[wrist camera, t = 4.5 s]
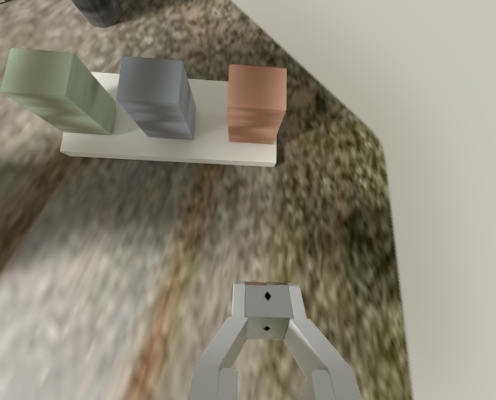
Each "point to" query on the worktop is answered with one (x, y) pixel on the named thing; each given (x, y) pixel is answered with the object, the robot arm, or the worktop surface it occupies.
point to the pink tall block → (255, 103)
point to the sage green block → (59, 91)
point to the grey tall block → (157, 97)
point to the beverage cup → (99, 11)
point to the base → (174, 150)
